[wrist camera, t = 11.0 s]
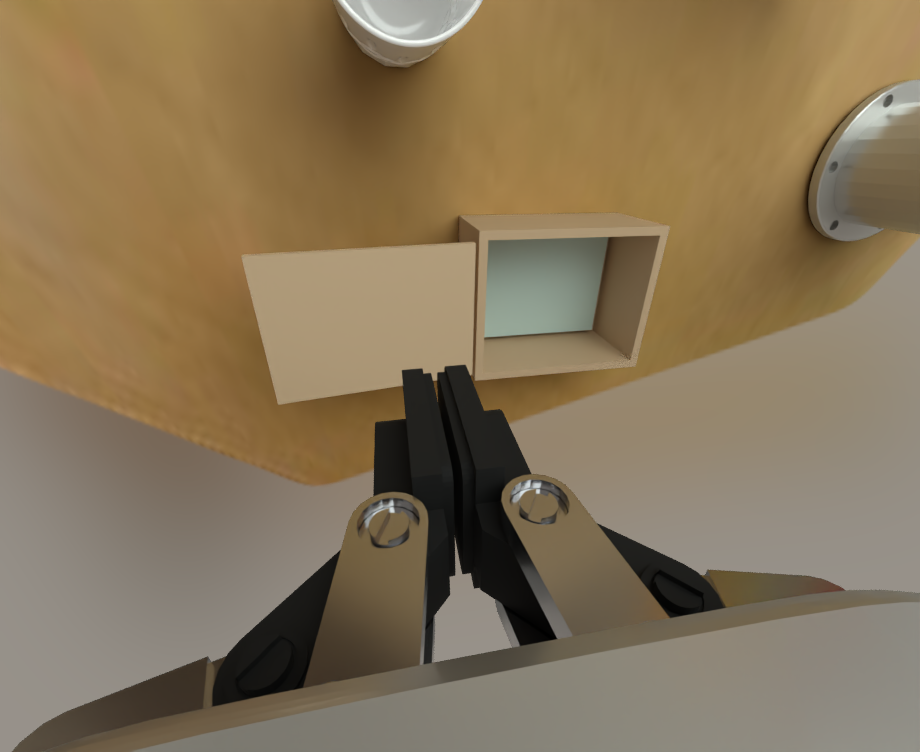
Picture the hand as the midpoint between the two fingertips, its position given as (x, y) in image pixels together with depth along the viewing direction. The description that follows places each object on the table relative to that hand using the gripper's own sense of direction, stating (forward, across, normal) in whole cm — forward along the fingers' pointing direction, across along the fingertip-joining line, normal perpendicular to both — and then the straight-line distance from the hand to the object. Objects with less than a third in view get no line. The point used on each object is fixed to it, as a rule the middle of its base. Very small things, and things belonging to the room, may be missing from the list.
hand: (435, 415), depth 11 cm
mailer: (+25, -12, +4) cm, 28 cm away
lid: (+16, +2, +4) cm, 17 cm away
